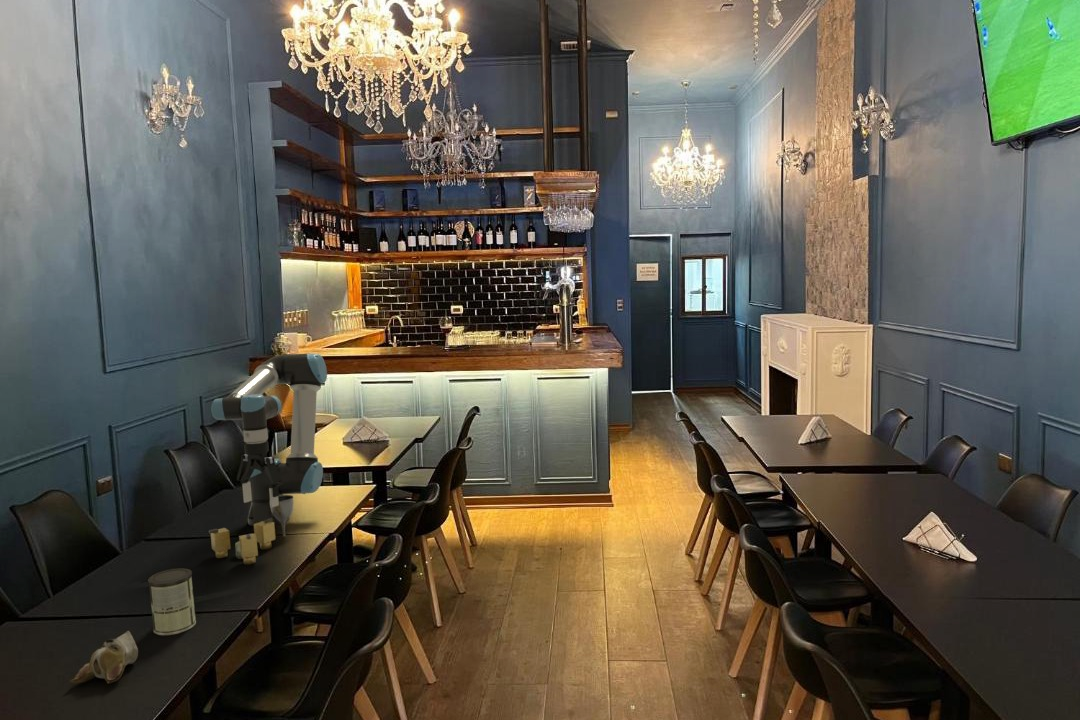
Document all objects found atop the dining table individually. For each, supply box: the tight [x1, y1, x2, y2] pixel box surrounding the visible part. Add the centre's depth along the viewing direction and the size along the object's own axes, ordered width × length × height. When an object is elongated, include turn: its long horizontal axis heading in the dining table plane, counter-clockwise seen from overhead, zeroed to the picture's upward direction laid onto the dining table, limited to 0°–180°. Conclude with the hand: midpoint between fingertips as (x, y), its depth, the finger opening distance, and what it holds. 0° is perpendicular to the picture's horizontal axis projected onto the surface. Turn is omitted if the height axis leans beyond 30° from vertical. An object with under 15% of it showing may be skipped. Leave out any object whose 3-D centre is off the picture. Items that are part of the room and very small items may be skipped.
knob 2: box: [238, 533, 259, 565], centre depth 246 cm, size 6×5×9 cm
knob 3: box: [253, 518, 276, 550], centre depth 260 cm, size 6×5×9 cm
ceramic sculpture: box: [69, 630, 139, 684], centre depth 179 cm, size 11×9×15 cm
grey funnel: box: [269, 494, 295, 537], centre depth 272 cm, size 8×8×15 cm
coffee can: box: [147, 567, 197, 636], centre depth 203 cm, size 10×10×14 cm
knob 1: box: [208, 527, 231, 559], centre depth 253 cm, size 6×5×9 cm
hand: (261, 504), depth 259 cm, fingers open, 13 cm apart
